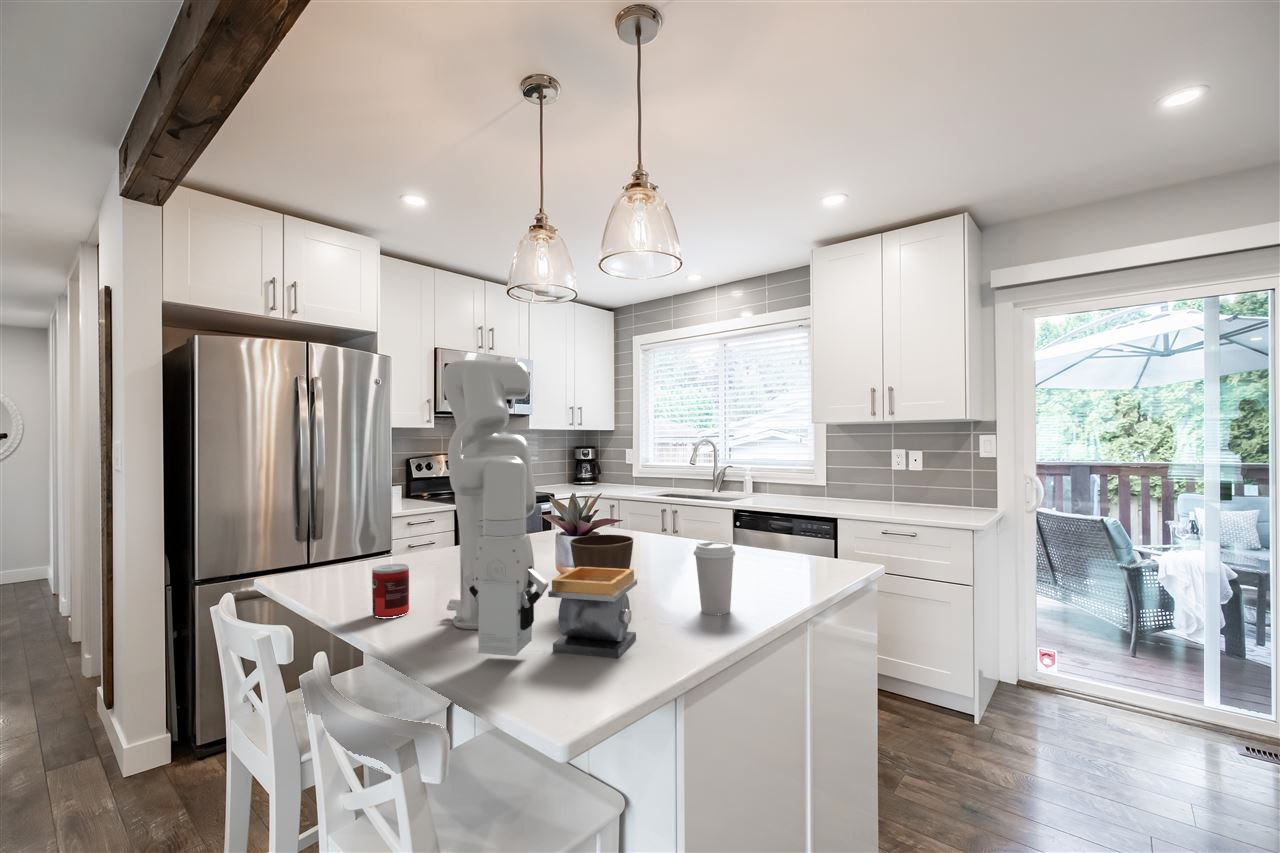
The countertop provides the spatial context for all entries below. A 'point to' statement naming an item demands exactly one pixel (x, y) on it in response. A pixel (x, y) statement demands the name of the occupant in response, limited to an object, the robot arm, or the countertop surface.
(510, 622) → the supplement box
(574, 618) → the tray on grey cylinder
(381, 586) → the canned food
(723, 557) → the coffee cup
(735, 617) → the countertop surface
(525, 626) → the robot arm
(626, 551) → the plant pot
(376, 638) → the countertop surface
